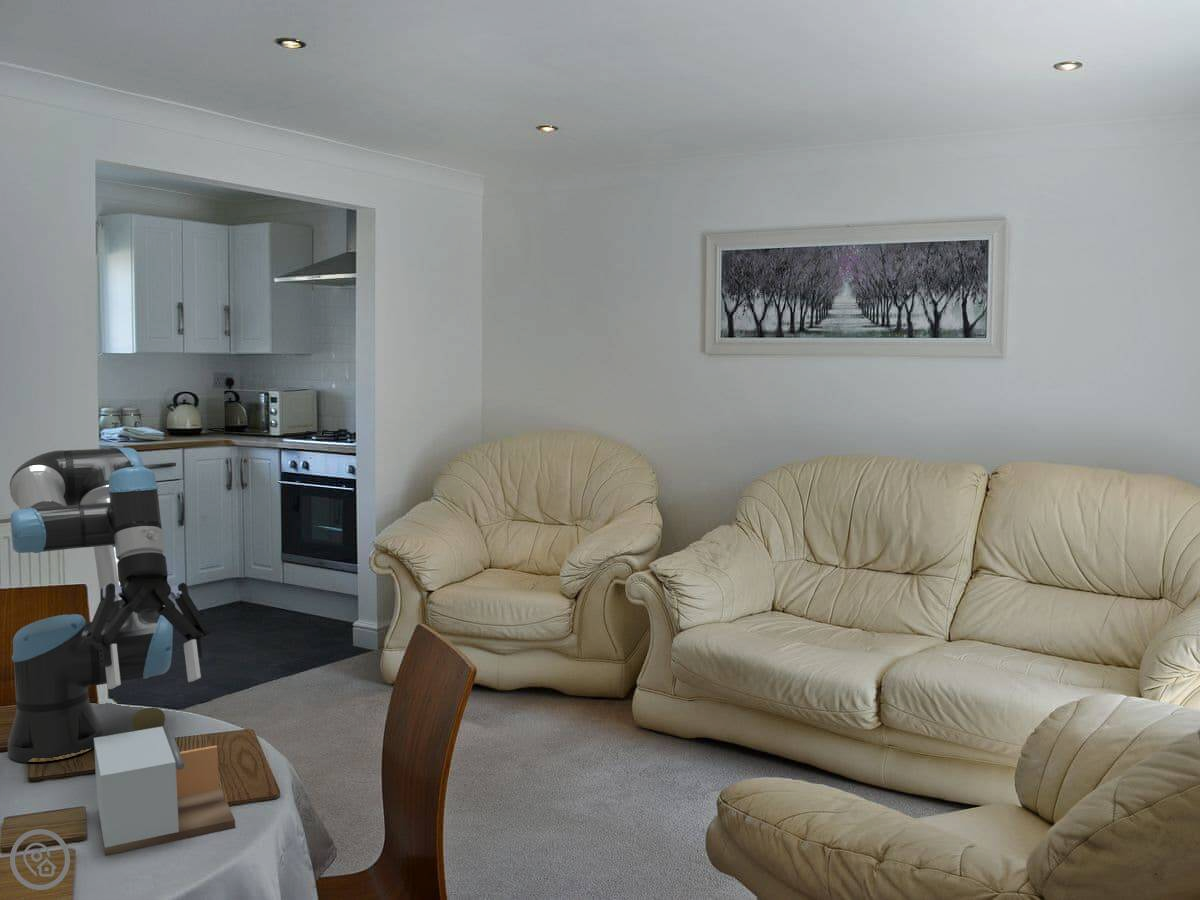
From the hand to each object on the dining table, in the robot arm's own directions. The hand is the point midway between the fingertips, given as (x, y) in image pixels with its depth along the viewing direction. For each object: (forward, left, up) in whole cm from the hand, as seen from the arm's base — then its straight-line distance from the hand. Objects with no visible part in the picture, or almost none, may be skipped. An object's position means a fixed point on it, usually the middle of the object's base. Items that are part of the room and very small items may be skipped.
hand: (155, 683), depth 169 cm
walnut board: (+10, 0, -19) cm, 21 cm away
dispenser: (+10, -4, -17) cm, 20 cm away
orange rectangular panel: (+10, 0, -15) cm, 18 cm away
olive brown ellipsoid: (-10, 0, -19) cm, 22 cm away
